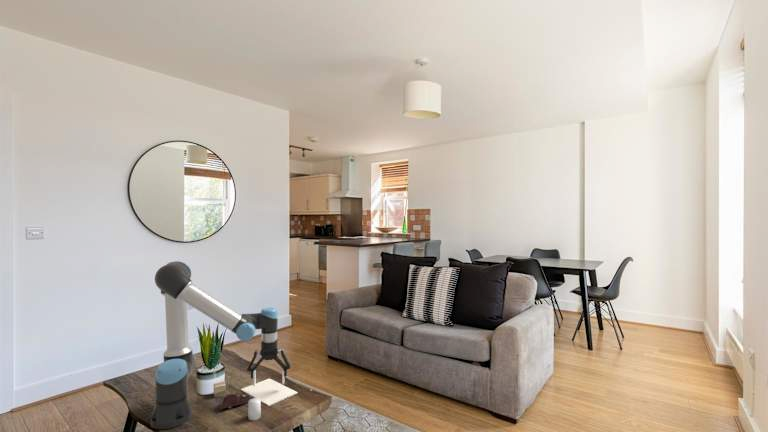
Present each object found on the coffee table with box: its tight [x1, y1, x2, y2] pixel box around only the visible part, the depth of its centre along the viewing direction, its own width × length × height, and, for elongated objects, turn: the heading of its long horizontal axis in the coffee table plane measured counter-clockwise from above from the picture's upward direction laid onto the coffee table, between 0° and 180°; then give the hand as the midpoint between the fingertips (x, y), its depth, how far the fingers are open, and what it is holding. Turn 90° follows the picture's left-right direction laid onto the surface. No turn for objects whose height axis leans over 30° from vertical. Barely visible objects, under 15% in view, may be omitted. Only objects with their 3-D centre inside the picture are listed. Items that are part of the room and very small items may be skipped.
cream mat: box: [240, 378, 298, 407], centre depth 183 cm, size 24×16×1 cm, turn 50°
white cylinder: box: [247, 397, 262, 421], centre depth 160 cm, size 5×5×7 cm
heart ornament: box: [220, 392, 252, 410], centre depth 170 cm, size 6×12×11 cm
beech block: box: [213, 380, 227, 399], centre depth 181 cm, size 5×5×5 cm
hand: (268, 384), depth 183 cm, fingers open, 13 cm apart
